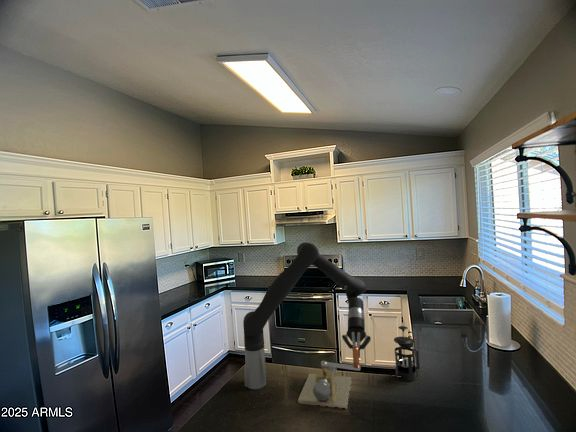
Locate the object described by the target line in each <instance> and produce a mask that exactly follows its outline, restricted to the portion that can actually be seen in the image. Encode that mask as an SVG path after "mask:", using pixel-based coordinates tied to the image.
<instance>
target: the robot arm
mask: <svg viewBox="0 0 576 432" xmlns="http://www.w3.org/2000/svg"><path fill="white" fill-rule="evenodd" d="M296 254H297V255H296V257H295V258H294V260H292V263H291V264H290V265H289V266H288V267H286V268H285V269H284V270H282V271H281V272H280V273H279V274H278V275H277V276H276V277H275V279H274V280H273V281H272V283H271V284H270V286H269V287H268V289H267V290H266V292H265V294H264V297H263V298H262V301H261V302H260V304H259V305H258V306H257V308H256V309H255V310H254V311H249V312H247V313H246V314H245V316H244V317H243V322H242V323H243V341H244V342H243V343H244V344H243V345H244V358H245V359H244V360H245V361H244V362H245V365H243V373H244V374H243V377H244V387H245V388H248V389H250V390H260V389H262V388H265V386H266V385H267V370H266V369H267V367H266V353H265V338H264V328H265V326H266V324H267V323H268V321H269V320H270V318H271V316H272V315H273V314H274V313H275V312H276V310H277V309H278V308H279V307H280V305H281V304H282V303H283V301H285V299H286V298H287V297H288V295H289V294H290V293H291V291H292V290H293V288H294V287H295V286H296V284H298V282H299V280H300V279H301V277H302V276H303V275H304V273H305V272H306V271H307V270H308V269H309V268H310V266H311V265H313V266H314V267H315V268H317V269H318V270H320V271H321V272H322V273H323V274H324V275H326V277H328V278H329V279H330V280H331V281H333V282H335V283H336V284H338V286H340V287H346V288H345V294H346V298H347V302H348V303H347V304H348V312H347V331H346V333H345V334H342V335H341V338H342V341H344V343H345V344H346V346H347V347H348V349H350V350H351V349H352V350H353V348H352V347H354V346H356V347H358V351H359V358H360V357H361V350H365V349H366V347H367V346H368V344H369V343H370V342H371V341H372V339H371V336H369V335H367V332H366V330H365V328H366V327H365V326H366V325H365V323H366V322H365V319H366V318H365V313H364V312H365V311H364V309H365V308H364V302H363V301H364V300H363V299H362V298H361V297H359V296H361V295H363V294H364V293H366V291H367V285H366V283H365V282H364V281H363V280H362V279H360V278H358V277H356V276H354V275H350V274H348V273H347V272H346V271H345V270H344V269H342V268H341V267H339V266H338V265H337V264H335V263H333V262H331V261H330V260H329V259H327V258H326V257H324V256H323V255H322V254H321V253H320V252H319V249H318V246H317V245H315V244H314V243H311V242H307V241H305V242H301V243H300V244H299V245H298V246H297V249H296ZM349 340H350V341H351V342H350V341H349ZM362 341H363V342H362Z"/></svg>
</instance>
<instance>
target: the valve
mask: <svg viewBox="0 0 576 432" xmlns="http://www.w3.org/2000/svg"><path fill="white" fill-rule="evenodd" d="M336 373H337V369H336V368H335V367H320V368H317V372H316V373H308V376H307V378H306V381H304V382H305V383H304V384H303V387H302V389H301V392H300V394H299V396H298V399H297V404H301V405H310V406H317V405H320V406H319V407H325V406H328V408H334V407H338V408H337V409H342V408H345V409H344V410H348V406H349V405H348V404H349V400H350V393H349V391H350V392H351V387H350V385H351V386H352V381H351V379H352V377H350V376H344V375H343V376H342V375H336ZM348 399H349V400H348ZM347 405H348V406H347Z"/></svg>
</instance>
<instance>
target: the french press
mask: <svg viewBox="0 0 576 432" xmlns="http://www.w3.org/2000/svg"><path fill="white" fill-rule="evenodd" d="M398 329H399V330H401V331H402V336H396V337H394V338H393V341H394V342H395V343H396V344H397V345H398V347H395V348H394V355H395V356H394V358H395V359H394V360H395V377H396V376H401V377H396V378H397V379H398V380H400V381H403V382H415V381H417V378H418V376H417V370H419V369H420V360H419V359H420V358H419V350H418V349H417V348H413V347H414V343H415V340H414V339H413V338H412V337H409V336H405V330H408V329H409V328H408V326H405V325H401V326H398ZM397 351H398V352H397ZM406 351H411V354H410V353H409V354H406ZM403 353H404V354H403Z"/></svg>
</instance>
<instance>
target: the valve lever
mask: <svg viewBox="0 0 576 432" xmlns="http://www.w3.org/2000/svg"><path fill="white" fill-rule="evenodd" d="M352 348H353V349H352V359H353V361H352V362H353V363H352V364H347V363H346V364H344V363H337V362H329V361H327V360H321V361H320V366H321V367H335V369H336V368H338V369H344V370H352V371H361V365H360V359H359V351H358V347H357V345H356V346H354V347H352ZM321 367H320V368H321Z"/></svg>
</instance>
